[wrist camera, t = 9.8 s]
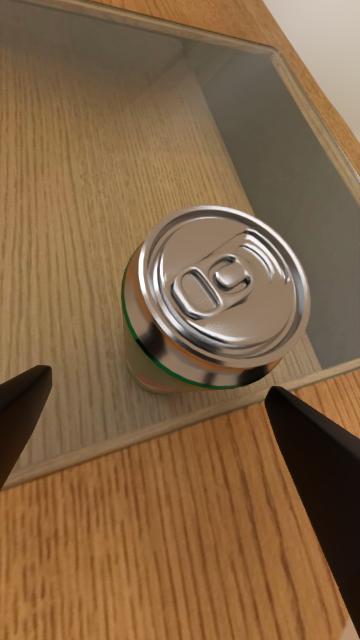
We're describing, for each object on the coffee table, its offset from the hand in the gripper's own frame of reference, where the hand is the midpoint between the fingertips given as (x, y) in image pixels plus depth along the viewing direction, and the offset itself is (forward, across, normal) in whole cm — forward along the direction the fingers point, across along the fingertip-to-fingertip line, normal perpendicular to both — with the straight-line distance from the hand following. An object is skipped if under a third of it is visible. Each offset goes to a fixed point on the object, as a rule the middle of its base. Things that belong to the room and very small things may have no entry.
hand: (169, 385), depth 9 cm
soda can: (+7, 0, +4) cm, 8 cm away
